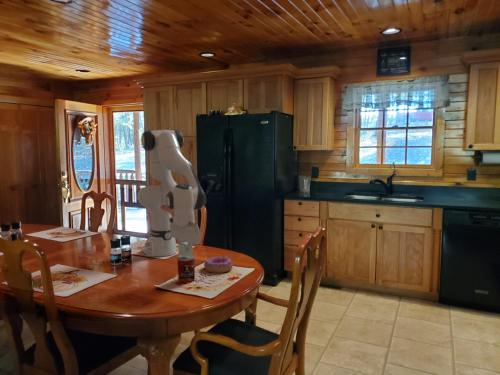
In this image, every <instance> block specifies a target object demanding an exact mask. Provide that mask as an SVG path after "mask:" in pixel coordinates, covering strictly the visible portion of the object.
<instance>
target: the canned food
mask: <svg viewBox="0 0 500 375" xmlns="http://www.w3.org/2000/svg"><path fill="white" fill-rule="evenodd" d="M195 268H196V265H195V255H193V254H189V255H185V256H184V255H181V254H179V255H178V256H177V279H178V282H179V281H180V282H179V283H181V282H183V283H182V284H188V283H187V282H189V283H192V282H194V281H195V279H196V269H195Z"/></svg>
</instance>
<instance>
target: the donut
mask: <svg viewBox="0 0 500 375" xmlns="http://www.w3.org/2000/svg"><path fill="white" fill-rule="evenodd" d="M233 263H234V262H233V259H232V258H231V257H228V256H224V255H221V256H219V255H217V256H211V257H208V258H206V259H205V260H204V263H203V265H204V267H203V268H204V269H205V270H206V271H207V272H208V273H211V274H212V273H213V274H222V273H227V272H230V271H231V270H232V269H233V266H234V264H233Z"/></svg>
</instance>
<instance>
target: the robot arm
mask: <svg viewBox="0 0 500 375" xmlns="http://www.w3.org/2000/svg"><path fill="white" fill-rule="evenodd" d="M184 142H185V139H184V135H183V133H182V131H181V130H178V129H174V130H173V129H155V130H147V131H144V132H142V135H141V138H140V144H141V146H142V149H144V150H145V151H146V152H149V173H150V176H151V178H153V179H154V180H157V181H159V182H161V185H148V186H144V187H141V188H140V189H138V191H137V196H136V198H137V201H138V203H139V204H140V205H141V206H143V207H144V208H146V209H147V211H148V212H149V215H150V218H151V229H150V232H151V233H150V236H149V237H148V238H147V240H145V242H144V247H143V248H141V251H142V253H144V254H145V255H146V256H147V257H167V256H171V255H174V254H176V253H177V251H178V247H177V244H179V243H184V242H188V247H187V251H188V252H191V251H192V247H194V245H199V244H200V243H201V242H202V241H201V240H202V238H201V237H202V236H201V231H200V230H201V229H200V228H199V225H198V224H197V222H195V211H194V210H201V209H203V207H204V206H206V204H207V196H206V193H205V191H204V189H203V188H202V186H201V184H200V181H199V179H198V177H197V173H196V172H195V170H194V167H193V165H192V163H191V162H190V160H188V159H187V158H185V157H184V155H183V154H182V151H181V149H182V148H183V147H184ZM172 172H175V173H178V174H180V175H183V176H184V177H185V178H186V181H187V182H188V183H187V184H186V183H177V182H176V181H175V180H174V178H173V175H172ZM163 205H164V206H165V205H166V207H167V208H169V209H170V211H174V213H173V214H174V215H173V216H172V214H171V213H170V212H169V211H167V210H165V209H162V208H161V206H163ZM176 240H177V242H176Z"/></svg>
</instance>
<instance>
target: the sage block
mask: <svg viewBox="0 0 500 375" xmlns="http://www.w3.org/2000/svg"><path fill="white" fill-rule="evenodd" d="M177 246H178V247H177V248H178V250H177V251H178V254H179V255H184V256H185V255H189V254H190V255H193V253H194V251H193V250H194V249H193V247H194V246H192V251H191V252H188V251H187V247H188V242H185V241H183V243H177Z"/></svg>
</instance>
